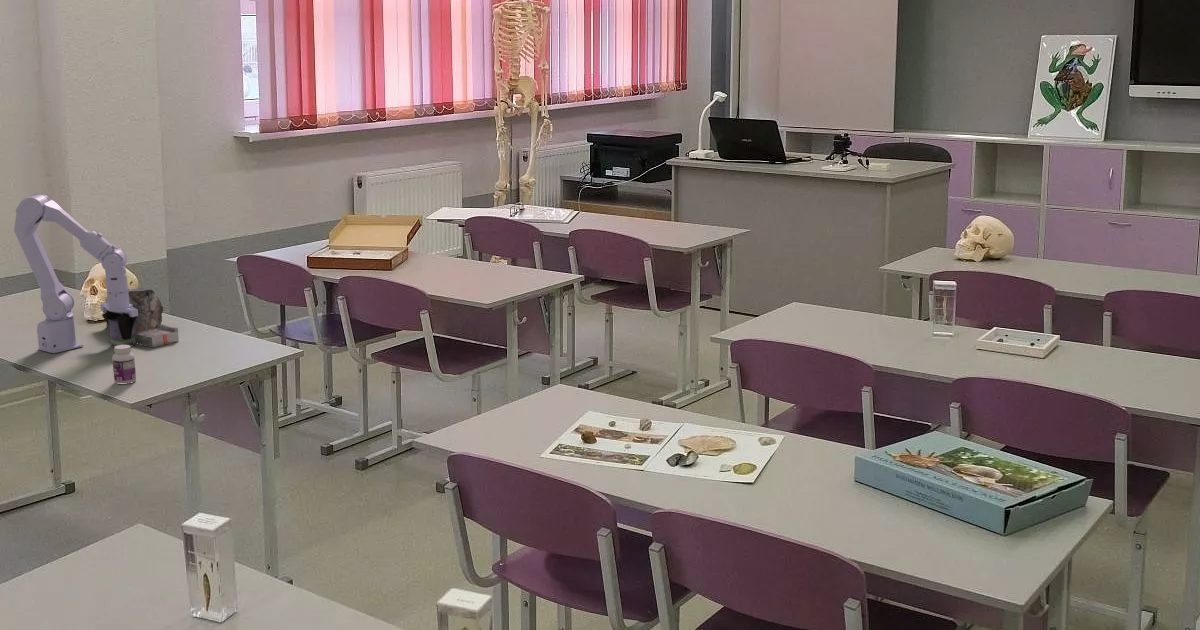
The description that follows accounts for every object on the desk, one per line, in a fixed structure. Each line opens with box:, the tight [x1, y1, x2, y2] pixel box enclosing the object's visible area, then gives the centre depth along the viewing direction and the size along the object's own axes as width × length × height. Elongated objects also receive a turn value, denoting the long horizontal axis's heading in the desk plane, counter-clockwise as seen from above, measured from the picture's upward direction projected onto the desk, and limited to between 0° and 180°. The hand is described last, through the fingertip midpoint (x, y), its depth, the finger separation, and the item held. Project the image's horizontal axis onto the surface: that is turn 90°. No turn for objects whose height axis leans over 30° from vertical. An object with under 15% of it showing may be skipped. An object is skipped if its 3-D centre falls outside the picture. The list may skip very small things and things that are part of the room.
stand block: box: [133, 323, 180, 348], centre depth 353 cm, size 9×8×4 cm
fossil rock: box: [102, 287, 164, 336], centre depth 367 cm, size 20×10×15 cm, turn 54°
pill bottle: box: [111, 345, 137, 384], centre depth 313 cm, size 5×5×10 cm
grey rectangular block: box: [108, 318, 135, 348], centre depth 348 cm, size 5×5×8 cm
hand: (121, 337), depth 349 cm, fingers closed on grey rectangular block, 4 cm apart
